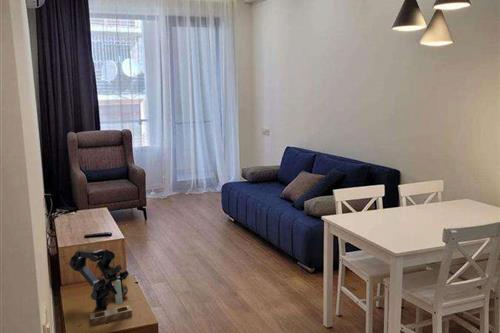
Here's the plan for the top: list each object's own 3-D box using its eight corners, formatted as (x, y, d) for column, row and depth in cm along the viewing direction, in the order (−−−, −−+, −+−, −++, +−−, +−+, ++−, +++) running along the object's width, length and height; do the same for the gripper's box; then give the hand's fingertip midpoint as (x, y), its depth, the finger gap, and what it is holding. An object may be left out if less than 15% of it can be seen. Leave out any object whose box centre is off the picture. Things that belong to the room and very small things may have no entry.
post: (114, 303, 251) (112, 281, 249) (121, 301, 253) (118, 279, 251) (117, 305, 248) (115, 283, 246) (123, 303, 250) (121, 281, 248)
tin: (102, 299, 274) (100, 286, 273) (103, 297, 277) (102, 284, 276) (127, 297, 275) (126, 284, 274) (128, 295, 278) (127, 282, 277)
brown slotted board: (91, 324, 243) (90, 318, 243) (90, 318, 250) (90, 313, 249) (132, 315, 251) (131, 310, 250) (130, 310, 257) (130, 304, 257)
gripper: (95, 266, 243) (109, 291, 237) (125, 256, 257) (139, 279, 251) (89, 278, 249) (102, 302, 243) (118, 267, 263) (132, 289, 257)
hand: (119, 292), depth 249 cm, fingers closed on post, 4 cm apart
